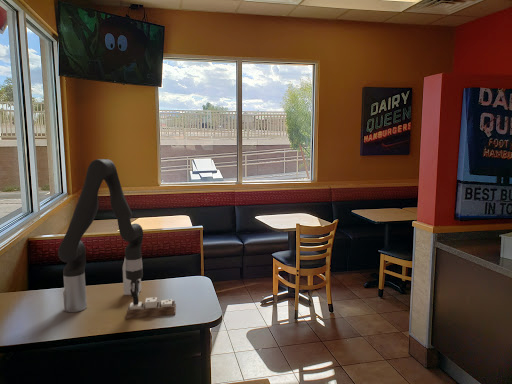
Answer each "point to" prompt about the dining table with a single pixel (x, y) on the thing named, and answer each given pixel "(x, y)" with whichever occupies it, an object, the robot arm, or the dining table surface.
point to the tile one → (135, 306)
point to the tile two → (151, 302)
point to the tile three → (166, 303)
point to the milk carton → (128, 282)
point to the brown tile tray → (151, 311)
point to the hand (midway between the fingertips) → (136, 303)
